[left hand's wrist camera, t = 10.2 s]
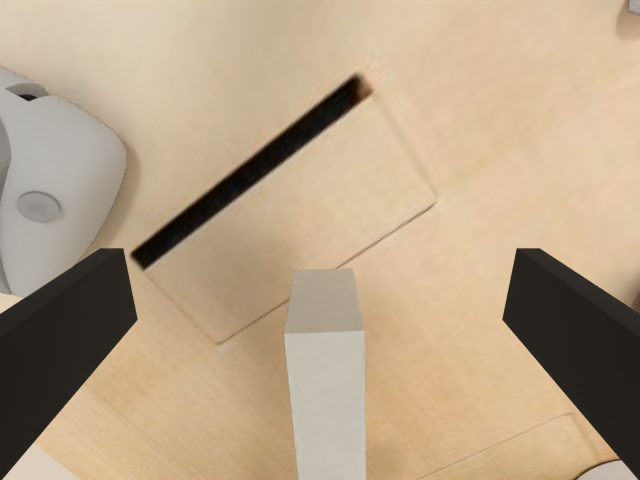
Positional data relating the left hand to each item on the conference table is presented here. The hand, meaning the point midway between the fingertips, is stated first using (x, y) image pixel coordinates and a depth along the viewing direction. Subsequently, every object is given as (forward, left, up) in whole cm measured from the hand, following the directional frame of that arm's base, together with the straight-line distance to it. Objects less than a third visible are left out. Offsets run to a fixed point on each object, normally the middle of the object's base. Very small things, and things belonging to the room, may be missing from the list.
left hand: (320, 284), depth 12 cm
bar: (+20, +1, -16) cm, 26 cm away
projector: (+3, -29, -28) cm, 40 cm away
